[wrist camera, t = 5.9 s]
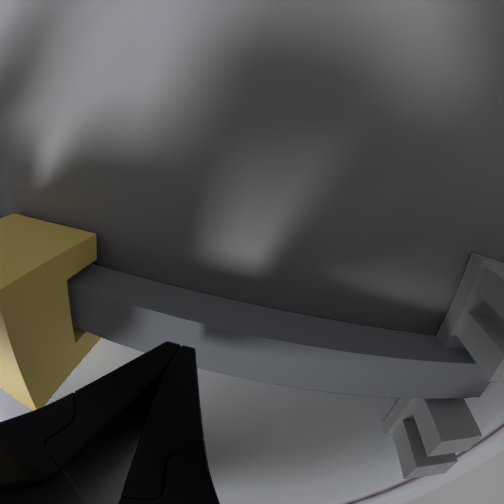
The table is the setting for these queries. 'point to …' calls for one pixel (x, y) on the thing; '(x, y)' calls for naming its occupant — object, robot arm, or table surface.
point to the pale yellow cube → (40, 306)
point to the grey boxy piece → (454, 409)
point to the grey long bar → (270, 340)
